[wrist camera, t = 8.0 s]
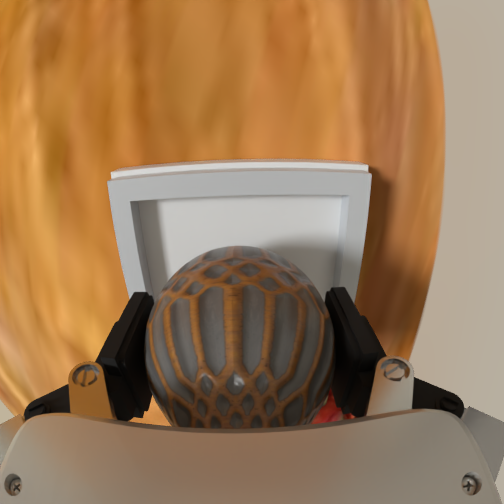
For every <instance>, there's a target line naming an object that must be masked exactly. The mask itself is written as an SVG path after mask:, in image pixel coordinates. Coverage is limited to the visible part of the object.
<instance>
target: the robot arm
mask: <svg viewBox="0 0 504 504" xmlns="http://www.w3.org/2000/svg"><path fill="white" fill-rule="evenodd" d="M324 303H325V305H326V307H327V309H328V312H329V315H330V318H331V321H332V324H333V328H334V334H335V341H336V363H335V371H334V377H333V381H332V385H331V390H332V393H333V397H334V400H335V404H336V407H337V408H341V410H342V414H343V415H344V414H350V413H351V415H353V416H355V417H356V418H353V419H347V420H340V421H333V422H326V423H318V424H310V425H300V426H288V427H273V428H251V429H210V428H187V427H173V426H161V425H152V424H143V423H135V422H130V420H131V419H132V418H133V417H137V418H143V415H144V411H148V409H149V406H150V402H151V398H152V392H151V390H150V387H149V384H148V380H147V376H146V370H145V362H144V339H145V332H146V326H147V322H148V319H149V316H150V313H151V310H152V308H153V306H154V299H153V296H152V295H149V294H148V292H134V293H133V295H132V296H131V298H130V300H129V302H128V304H127V306H126V307H125V309H124V311H123V313H122V315H121V317H120V319H119V321H117V322H116V323H115V324H114V326H113V328H112V330H111V332H110V333H109V335H108V337H107V339H106V341H105V343H104V345H103V347H102V349H101V351H100V353H99V355H98V357H97V359H96V361H95V362H91V361H88V362H83V363H80V364H78V365H77V366H75V367H74V368H73V369H72V370H71V372H70V374H69V378H68V382H69V384H67V385H65V386H63V387H61V388H59V389H57V390H55V391H53V392H51V393H49V394H47V395H45V396H42V397H40V398H38V399H36V400H34V401H32V402H31V403H30V404H29V405H28V406H27V407H26V409H25V412H24V416H21V414H19V415H17V416H15V417H13V418H12V419H10V420H8V421H6V422H4V423H2V424H0V504H502V502H501V499H500V496H499V493H498V490H497V488H496V485H495V480H496V478H497V475H498V472H499V469H500V466H501V463H502V460H503V457H504V422H502V421H500V420H498V419H496V418H493V417H491V416H489V415H487V414H485V413H483V412H480V411H478V410H476V409H474V408H472V407H470V406H469V407H468V408H467V409H466V408H464V404H463V402H462V400H461V399H460V398H459V397H458V396H457V395H455V394H454V393H451V392H449V391H446V390H444V389H442V388H439V387H437V386H434V385H432V384H429V383H427V382H425V381H422V380H419V379H417V378H415V377H414V370H413V367H412V365H411V364H410V363H409V362H408V361H407V360H406V359H404V358H402V357H398V356H386V354H385V352H384V350H383V348H382V346H381V344H380V342H379V340H378V339H377V337H376V335H375V333H374V331H373V329H372V327H371V326H370V324H369V322H368V320H367V318H366V317H365V316H360V314H359V312H358V310H357V308H356V306H355V304H354V303H353V301H352V299H351V297H350V295H349V294H348V292H347V290H346V288H345V287H331V289H330V291H326V295H325V302H324Z"/></svg>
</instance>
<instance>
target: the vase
mask: <svg viewBox="0 0 504 504" xmlns="http://www.w3.org/2000/svg"><path fill="white" fill-rule="evenodd" d="M144 362H145V370H146V376H147V380H148V384H149V387H150V390H151V392H152V395H153V397H154V399H155V401H156V403H157V404H158V406H159V408H160V409H161V411H162V413H163V414H164V416H165V417H166V419H167V420H168V422H169V423H170V424H171V426H173V427H187V428H210V429H251V428H273V427H288V426H300V425H310V424H311V423H312V421H313V420H314V418H315V417H316V415H317V414H318V412H319V411H320V409H321V407H322V406H323V404H324V402H325V400H326V398H327V396H328V394H329V391H330V388H331V385H332V381H333V377H334V371H335V363H336V341H335V334H334V328H333V324H332V321H331V318H330V315H329V312H328V309H327V307H326V305H325V303H324V301H323V299H322V297H321V295H320V293H319V292H318V290H317V289H316V287H315V285H314V284H313V283H312V281H311V280H310V279H309V278H308V277H307V276H306V275H305V274H304V273H303V272H302V271H301V270H300V269H299V268H298V267H297V266H296V265H294V264H293V263H291V262H290V261H288V260H287V259H285V258H284V257H282V256H280V255H278V254H276V253H274V252H271V251H269V250H265V249H262V248H258V247H252V246H227V247H221V248H217V249H213V250H210V251H208V252H205V253H203V254H201V255H199V256H197V257H195V258H194V259H192V260H191V261H189V262H188V263H186V264H185V265H184V266H182V267H181V268H180V269H179V270H178V271H177V272H176V273H175V274H174V275H173V276H172V277H171V278H170V279H169V280H168V282H167V283H166V284H165V286H164V287H163V289H162V291H161V292H160V294H159V296H158V297H157V299H156V301H155V304H154V306H153V308H152V310H151V313H150V316H149V319H148V322H147V326H146V332H145V339H144Z"/></svg>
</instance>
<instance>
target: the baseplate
mask: <svg viewBox="0 0 504 504" xmlns="http://www.w3.org/2000/svg"><path fill="white" fill-rule="evenodd" d="M111 177H112V179H111V180H109V181H107V183H108V191H109V198H110V205H111V211H112V217H113V223H114V229H115V235H116V240H117V245H118V250H119V255H120V260H121V264H122V269H123V273H124V278H125V282H126V286H127V290H128V294H129V298H131V296H132V295H133V293H134V292H148V294H149V295H152V296H153V299H154V304H155V301H156V299H157V297H158V296H159V294H160V292H161V291H162V289H163V287H164V286H165V284H166V283H167V282H168V280H169V279H170V278H171V277H172V276H173V275H174V274H175V273H176V272H177V271H178V270H179V269H180V268H181V267H182V266H184V265H185V264H186V263H188V262H189V261H191V260H192V259H194V258H195V257H197V256H199V255H201V254H203V253H205V252H208V251H210V250H213V249H217V248H221V247H227V246H252V247H258V248H262V249H265V250H269V251H271V252H274V253H276V254H278V255H280V256H282V257H284V258H285V259H287V260H288V261H290V262H291V263H293V264H294V265H296V266H297V267H298V268H299V269H300V270H301V271H302V272H303V273H304V274H305V275H306V276H307V277H308V278H309V279H310V280H311V281H312V283H313V284H314V285H315V287H316V289H317V290H318V292H319V293H320V295H321V297H322V299H323V301H324V302H325V295H326V291H330V289H331V287H345V288H346V290H347V292H348V294H349V295H350V297H351V299H352V301H353V303H354V302H355V297H356V292H357V286H358V280H359V275H360V269H361V262H362V256H363V249H364V242H365V235H366V227H367V219H368V210H369V200H370V190H371V178H372V174H371V173H368V165H366V164H364V163H361V162H356V161H339V160H315V159H233V160H209V161H192V162H178V163H165V164H154V165H144V166H135V167H126V168H120V169H118V170H115V171H113V172H111Z"/></svg>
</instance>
